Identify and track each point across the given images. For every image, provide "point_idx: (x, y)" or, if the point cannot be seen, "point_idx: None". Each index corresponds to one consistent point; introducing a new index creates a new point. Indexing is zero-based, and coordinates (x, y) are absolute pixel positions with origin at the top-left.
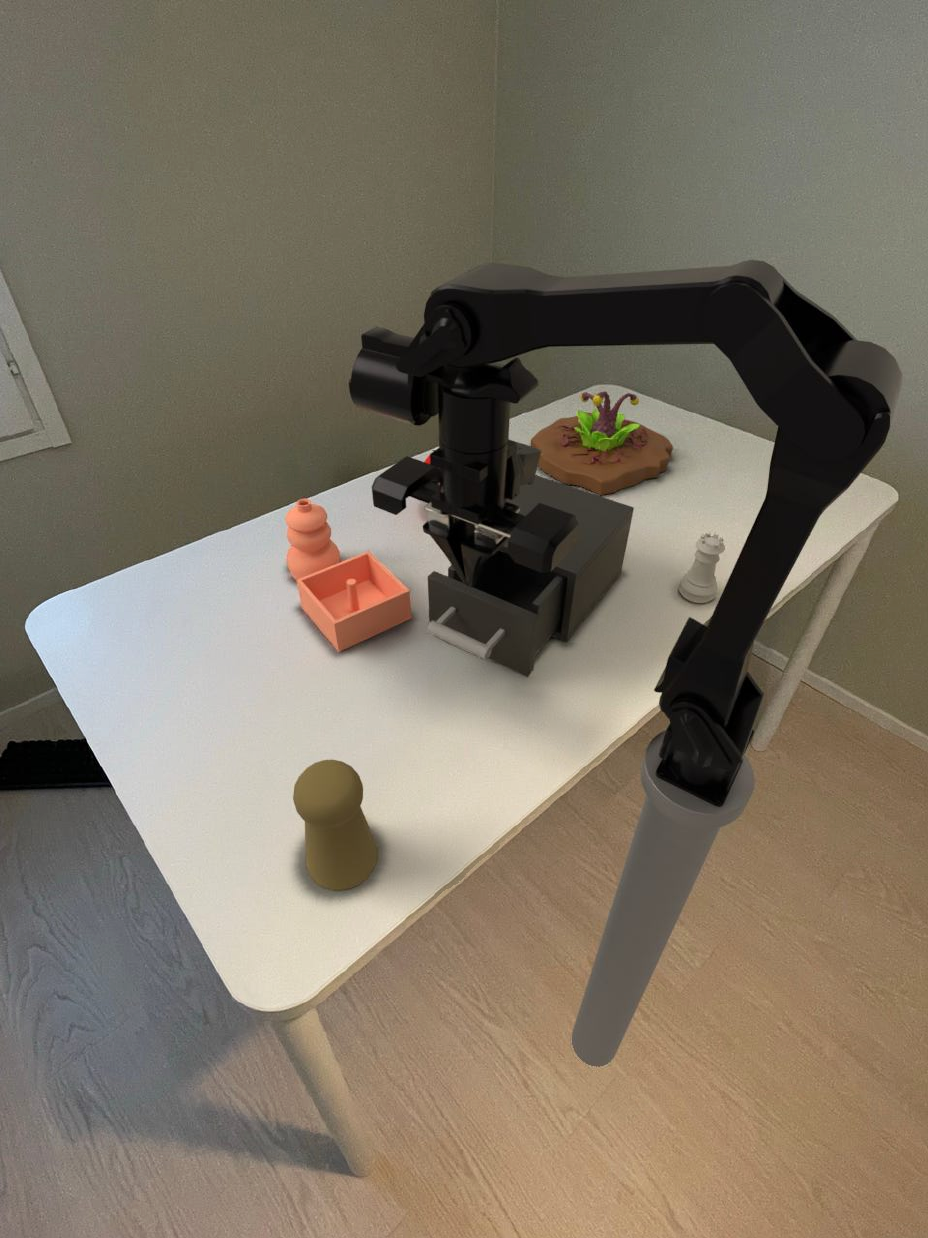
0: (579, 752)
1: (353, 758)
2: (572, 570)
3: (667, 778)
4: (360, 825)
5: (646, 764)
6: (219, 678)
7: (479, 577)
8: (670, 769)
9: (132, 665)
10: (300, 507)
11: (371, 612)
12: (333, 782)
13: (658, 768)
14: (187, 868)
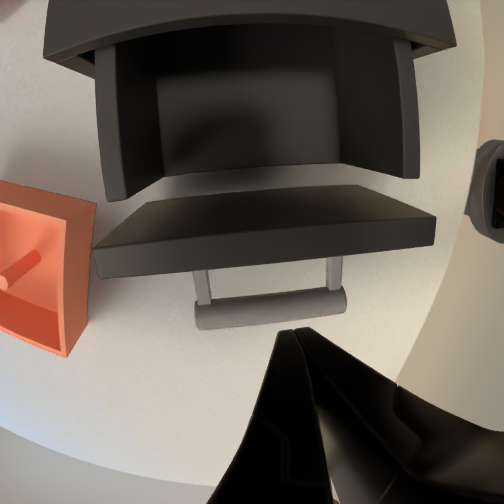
0: (441, 257)
1: (236, 408)
2: (445, 35)
3: (500, 227)
4: (330, 482)
5: (485, 219)
6: (59, 403)
7: (320, 335)
8: (501, 215)
9: (18, 415)
10: None
11: (68, 297)
12: None
13: (494, 221)
14: (217, 483)
